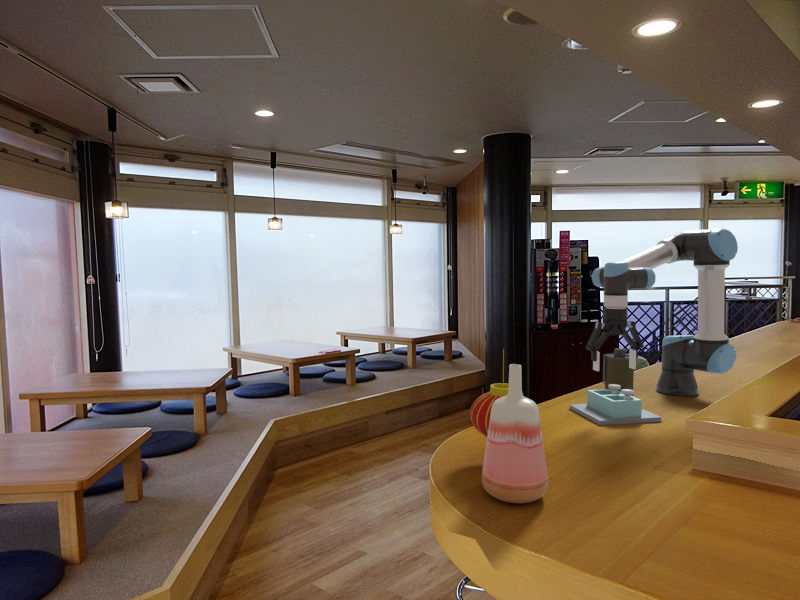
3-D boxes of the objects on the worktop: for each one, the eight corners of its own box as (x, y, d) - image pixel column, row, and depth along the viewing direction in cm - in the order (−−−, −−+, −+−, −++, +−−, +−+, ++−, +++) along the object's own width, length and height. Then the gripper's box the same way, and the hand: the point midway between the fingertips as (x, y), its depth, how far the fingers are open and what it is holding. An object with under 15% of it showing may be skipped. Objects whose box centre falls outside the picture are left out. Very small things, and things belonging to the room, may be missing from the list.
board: (625, 405, 192) (625, 380, 192) (661, 421, 173) (662, 393, 172) (569, 408, 188) (569, 383, 188) (600, 425, 169) (600, 397, 168)
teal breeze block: (613, 403, 189) (613, 388, 189) (641, 416, 173) (641, 400, 173) (586, 405, 187) (587, 390, 187) (612, 418, 172) (613, 401, 171)
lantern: (463, 468, 134) (464, 352, 132) (477, 446, 150) (478, 342, 148) (531, 477, 128) (533, 355, 126) (538, 453, 144) (540, 345, 142)
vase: (535, 515, 108) (537, 374, 106) (471, 499, 116) (472, 367, 114) (555, 490, 121) (557, 362, 119) (495, 477, 128) (497, 357, 126)
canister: (628, 398, 203) (629, 346, 202) (637, 405, 193) (639, 351, 191) (599, 397, 204) (600, 346, 203) (607, 404, 194) (608, 351, 192)
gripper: (641, 305, 184) (640, 365, 185) (575, 307, 179) (575, 369, 181) (655, 307, 176) (654, 369, 178) (587, 309, 172) (586, 373, 174)
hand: (614, 369), depth 180 cm, fingers open, 13 cm apart
